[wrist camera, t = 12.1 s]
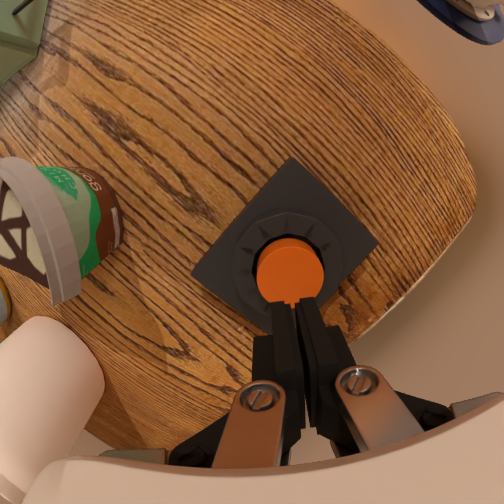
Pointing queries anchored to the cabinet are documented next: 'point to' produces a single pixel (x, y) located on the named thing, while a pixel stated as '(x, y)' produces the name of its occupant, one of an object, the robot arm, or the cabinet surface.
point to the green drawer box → (13, 59)
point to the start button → (289, 271)
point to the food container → (56, 224)
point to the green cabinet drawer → (22, 22)
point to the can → (42, 400)
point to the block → (277, 227)
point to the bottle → (4, 302)
